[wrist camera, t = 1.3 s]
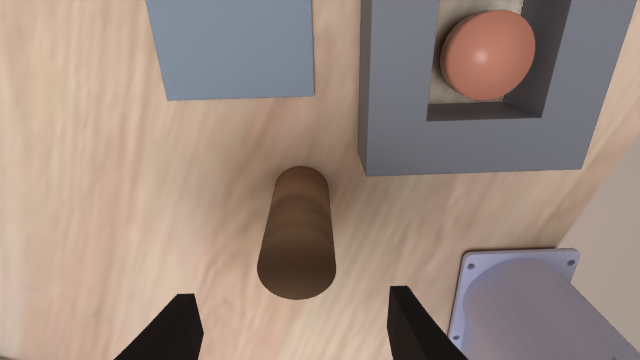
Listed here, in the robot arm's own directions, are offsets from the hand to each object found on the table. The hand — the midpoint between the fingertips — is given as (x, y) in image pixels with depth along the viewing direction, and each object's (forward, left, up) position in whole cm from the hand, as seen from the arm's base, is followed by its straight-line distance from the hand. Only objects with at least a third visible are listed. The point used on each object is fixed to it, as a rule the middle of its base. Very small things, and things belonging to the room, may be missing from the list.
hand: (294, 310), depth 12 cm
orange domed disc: (+8, -9, -8) cm, 14 cm away
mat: (+10, +3, -10) cm, 14 cm away
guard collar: (+8, -9, -10) cm, 15 cm away
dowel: (0, 0, -10) cm, 10 cm away
